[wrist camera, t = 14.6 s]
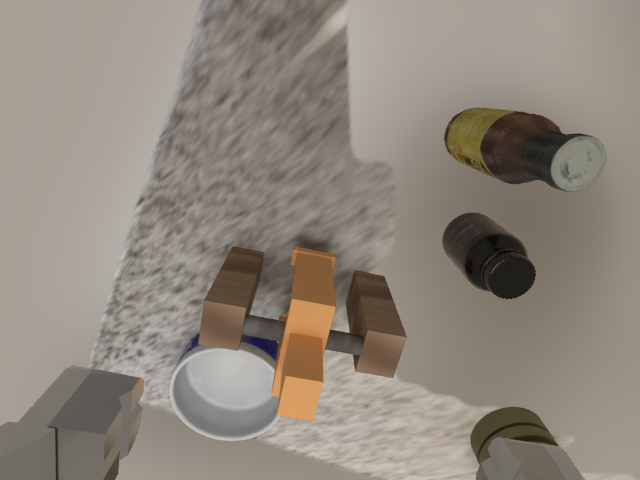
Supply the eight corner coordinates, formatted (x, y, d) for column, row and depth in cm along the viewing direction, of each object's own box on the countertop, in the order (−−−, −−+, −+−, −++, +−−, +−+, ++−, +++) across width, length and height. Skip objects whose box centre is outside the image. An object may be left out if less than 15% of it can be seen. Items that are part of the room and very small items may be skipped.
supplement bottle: (446, 267, 53) (481, 315, 41) (436, 219, 50) (471, 256, 39) (498, 254, 52) (549, 299, 41) (491, 204, 50) (543, 238, 39)
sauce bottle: (436, 158, 48) (513, 201, 29) (449, 102, 46) (542, 111, 27) (489, 166, 48) (599, 213, 30) (505, 111, 46) (634, 125, 27)
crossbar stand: (232, 246, 51) (204, 300, 38) (384, 276, 53) (406, 337, 40) (227, 281, 53) (198, 344, 40) (374, 309, 55) (393, 377, 42)
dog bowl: (250, 425, 62) (244, 459, 56) (162, 376, 58) (146, 407, 53) (310, 358, 58) (309, 387, 52) (218, 301, 54) (207, 326, 49)
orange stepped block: (294, 246, 47) (281, 333, 30) (335, 254, 48) (346, 345, 31) (276, 329, 51) (257, 447, 34) (315, 336, 51) (315, 456, 35)
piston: (612, 504, 51) (546, 552, 54) (559, 429, 62) (506, 473, 66) (551, 465, 49) (485, 518, 52) (507, 395, 60) (455, 442, 63)
